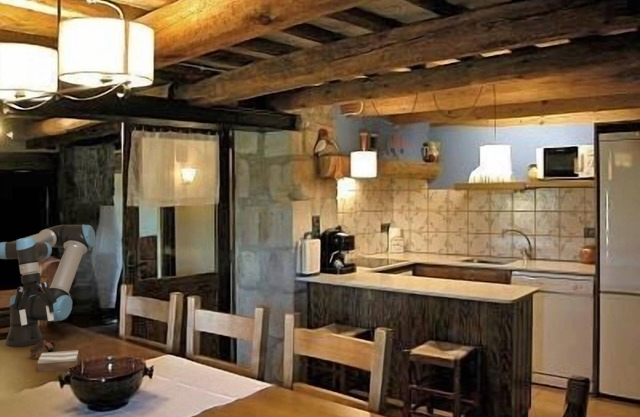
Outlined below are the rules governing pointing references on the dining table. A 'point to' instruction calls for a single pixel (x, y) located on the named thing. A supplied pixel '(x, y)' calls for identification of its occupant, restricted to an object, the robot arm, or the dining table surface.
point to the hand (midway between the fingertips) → (37, 322)
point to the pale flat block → (58, 360)
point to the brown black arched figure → (43, 347)
